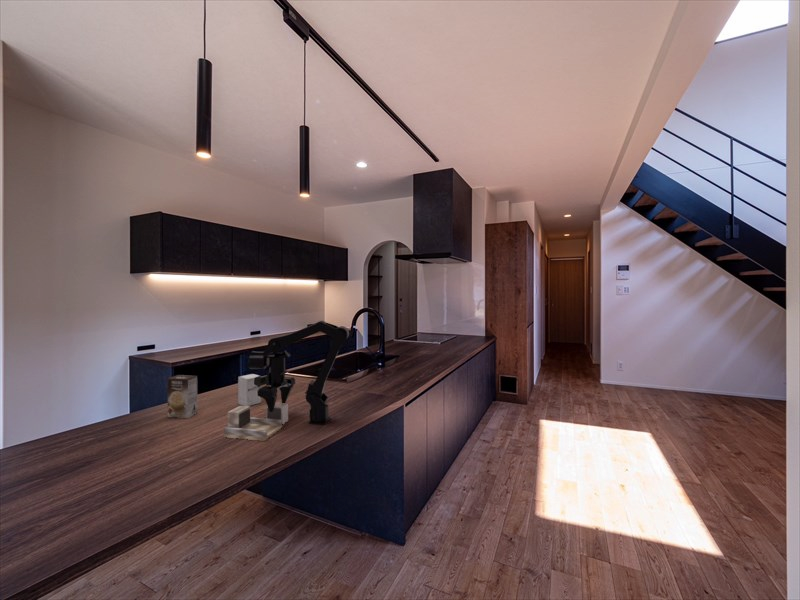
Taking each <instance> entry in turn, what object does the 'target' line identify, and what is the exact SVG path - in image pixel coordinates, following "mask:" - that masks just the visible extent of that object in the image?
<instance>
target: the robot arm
mask: <svg viewBox="0 0 800 600" xmlns="http://www.w3.org/2000/svg"><path fill="white" fill-rule="evenodd" d="M319 333H322V334H325V335H326V336H328V337H331V340H330V347H329V349H328V352H327V353H326V357H325V358H324V360H323V363H322V365H321V368H320V370H319V372H318V374H317V377H316V379H315V380H313V379H311V380H310V382H309V383H308V387H307V389H306V391H305V392H304V394H305V401H306V402H307V403H308V404H309V405H310V406H309V407H310V409H309V421H308V423H309V424H315V425H325V424H326V423H327V422H329V420H331V417H330V416H329V404H327V403H328V400H329V397H328V395H327V394H325V392H324V391H325V386H326V382H327V379H328V376H329V375H330V372H331V369H332V367H333V365H334V364H335V360H336V358H337V356H338V353H339V352H340V349H341V348H342V347H343V345H344V343H345V342H346V341H347V339H348V338H349V335H350V331H349V329H348V328H347V327H346V326H343V325H341V326H339V325H335V324H331V323H329V322H327V321H325V320H319V321H317V322H315V323H313V324H310V325H308V326H306V327H304V328H301V329H299V330H298V329H297V330H296V331H293V332H292V333H286V334H281V335H278V336H274V337H272V338H270V339H269V340H268V342H267V347H266V348H265V350H264V351H255V350H253V351H251V352H250V353H249V354H250V355H249V358H248V361H247V366H248V369H250V370H265V369H267V367H269V371H267V372H266V375H263V376H261V375H259V376H258V377H255V378H254V384H255V385H256V386H257V387H260V386H261V388H260V389H259V390H258V391H257V396H260V397H261V399H263V400H265V403H266V406H268V408H269V411H270V412H273V410H274V406H275V403H277V399H278V389H279V391H280V396H281V397H280V399H281V403H286V402H287V400H288V399H289V398H288V397H289V396H290V394H291V391H292V389H293V388H294V385H296V379H295V377H294V376H286V374H287V373H288V370H287V369H286V359H287V358H289V357H290V356H291V354H290V353H289V352H287V350H284V349H285V348H287V347H288V346H289V347H290V345H292V344H293V343H296V342H298V341H301V340H302V339H303V340H304V339H305V338H308V337H310V336H312V335H314V334H319ZM282 350H284V351H283V352H281V351H282ZM273 353H274V354H273Z"/></svg>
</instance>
